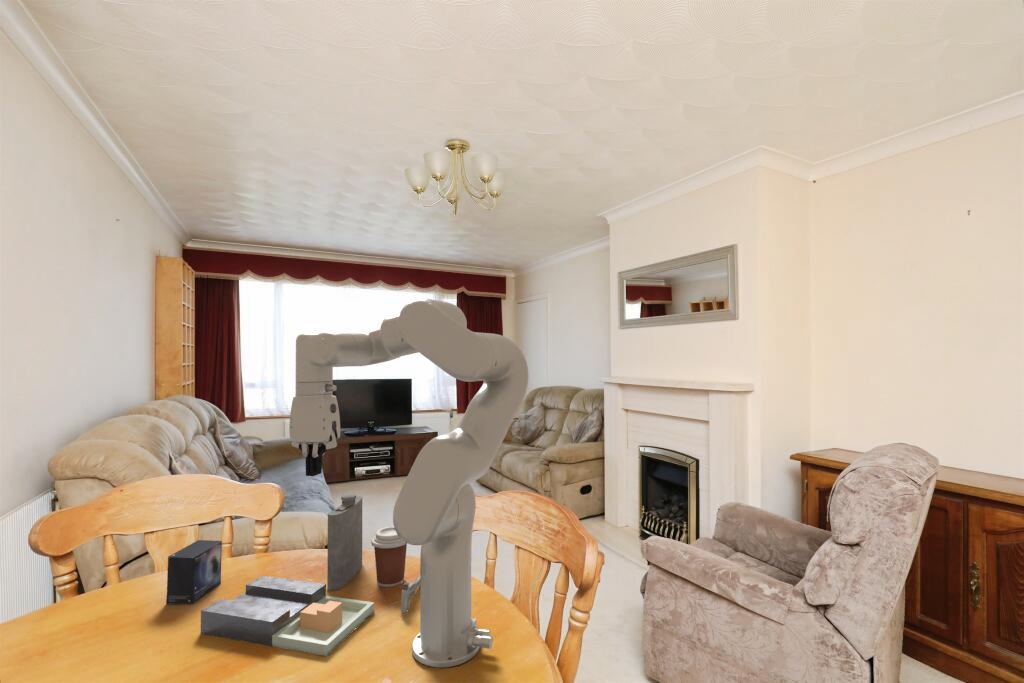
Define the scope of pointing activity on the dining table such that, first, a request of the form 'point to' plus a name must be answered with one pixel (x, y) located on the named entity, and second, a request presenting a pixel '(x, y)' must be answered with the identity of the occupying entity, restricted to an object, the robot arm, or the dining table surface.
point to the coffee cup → (389, 557)
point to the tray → (321, 641)
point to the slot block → (260, 609)
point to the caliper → (408, 594)
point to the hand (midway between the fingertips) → (313, 474)
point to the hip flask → (344, 541)
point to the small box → (193, 571)
